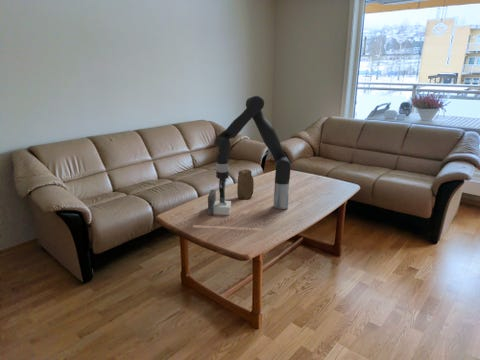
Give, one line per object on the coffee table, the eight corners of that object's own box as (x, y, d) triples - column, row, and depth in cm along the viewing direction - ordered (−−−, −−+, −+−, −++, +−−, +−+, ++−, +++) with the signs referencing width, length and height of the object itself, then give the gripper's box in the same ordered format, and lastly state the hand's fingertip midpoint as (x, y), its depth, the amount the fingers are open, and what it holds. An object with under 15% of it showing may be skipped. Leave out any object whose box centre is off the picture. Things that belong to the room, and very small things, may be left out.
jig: (242, 209, 221) (242, 190, 216) (240, 218, 208) (241, 198, 204) (211, 208, 222) (211, 189, 218) (208, 217, 210) (207, 197, 205)
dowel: (225, 201, 214) (225, 183, 210) (224, 203, 211) (224, 184, 207) (220, 200, 214) (219, 182, 211) (219, 202, 211) (219, 184, 208)
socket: (231, 208, 219) (231, 201, 218) (229, 214, 210) (229, 207, 208) (215, 207, 220) (215, 200, 218) (213, 214, 210) (213, 206, 209)
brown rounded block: (242, 200, 235) (243, 173, 228) (236, 197, 240) (236, 170, 234) (254, 197, 241) (255, 170, 235) (247, 194, 247) (248, 167, 240)
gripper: (217, 166, 213) (217, 192, 219) (214, 173, 200) (214, 200, 205) (229, 166, 212) (229, 192, 218) (227, 173, 199) (227, 201, 205)
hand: (222, 196), depth 212 cm, fingers closed on dowel, 3 cm apart
